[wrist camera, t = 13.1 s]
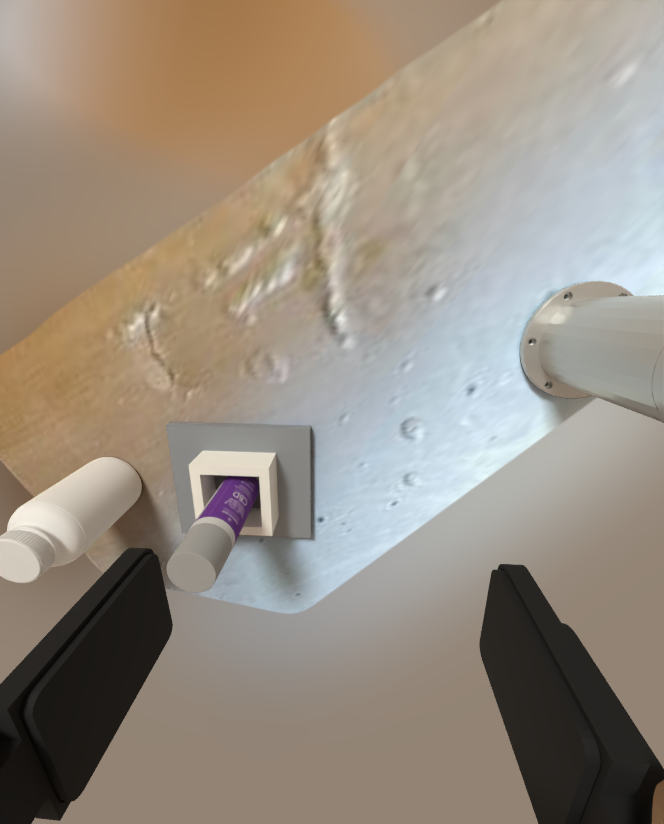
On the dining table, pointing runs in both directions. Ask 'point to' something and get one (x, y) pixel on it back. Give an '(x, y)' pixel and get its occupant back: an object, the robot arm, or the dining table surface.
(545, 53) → the dining table surface
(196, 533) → the container
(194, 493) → the square socket holder
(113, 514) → the pill bottle
